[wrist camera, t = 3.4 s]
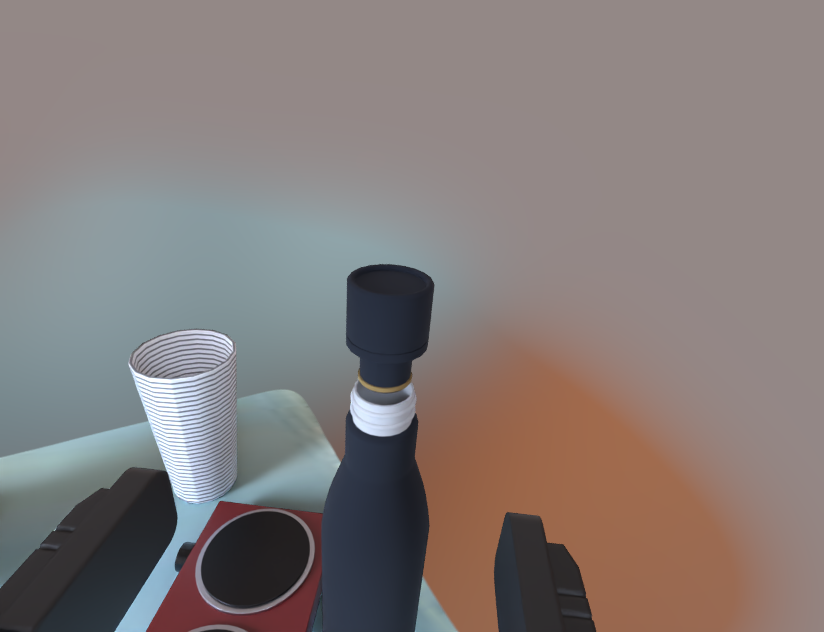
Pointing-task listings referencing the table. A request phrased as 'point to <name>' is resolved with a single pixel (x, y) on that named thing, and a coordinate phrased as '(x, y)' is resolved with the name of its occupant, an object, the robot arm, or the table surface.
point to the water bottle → (379, 461)
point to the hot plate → (247, 573)
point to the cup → (191, 408)
